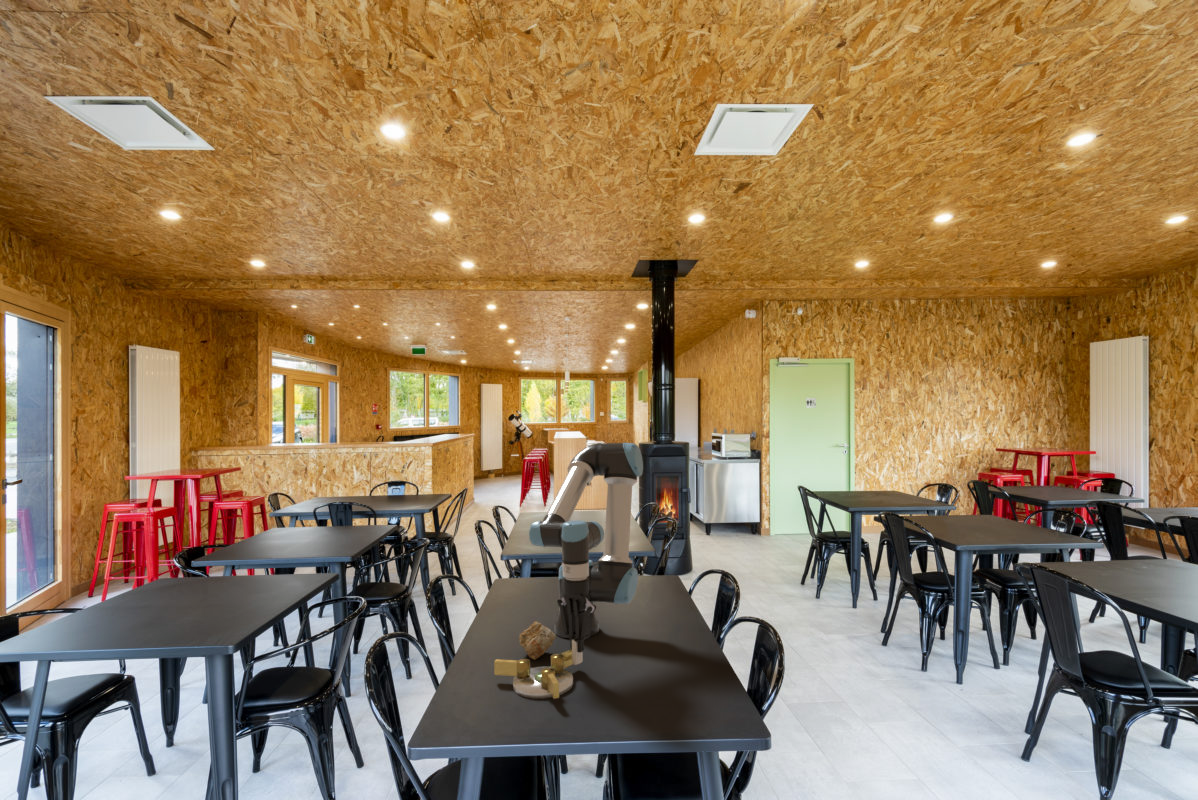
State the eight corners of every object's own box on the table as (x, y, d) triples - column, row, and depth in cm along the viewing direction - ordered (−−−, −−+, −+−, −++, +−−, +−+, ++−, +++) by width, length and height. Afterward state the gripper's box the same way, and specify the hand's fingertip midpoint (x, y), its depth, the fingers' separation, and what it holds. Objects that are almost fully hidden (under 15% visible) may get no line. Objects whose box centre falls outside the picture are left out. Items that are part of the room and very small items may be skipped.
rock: (559, 652, 177) (559, 619, 177) (546, 665, 167) (545, 630, 167) (524, 648, 180) (524, 615, 181) (509, 661, 171) (508, 626, 171)
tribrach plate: (500, 686, 153) (500, 674, 153) (543, 667, 165) (543, 656, 166) (542, 704, 143) (542, 691, 143) (585, 682, 155) (585, 670, 155)
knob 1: (531, 674, 157) (531, 659, 157) (527, 679, 153) (527, 664, 153) (497, 672, 158) (497, 657, 159) (492, 677, 155) (492, 662, 155)
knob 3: (557, 674, 156) (557, 659, 156) (548, 671, 158) (548, 656, 158) (581, 663, 163) (581, 649, 164) (572, 660, 166) (572, 646, 166)
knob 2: (539, 684, 150) (539, 668, 150) (553, 682, 151) (552, 666, 152) (549, 700, 141) (549, 684, 141) (563, 698, 142) (563, 681, 142)
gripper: (550, 576, 163) (551, 661, 162) (584, 583, 155) (586, 673, 154) (568, 571, 169) (569, 653, 168) (602, 577, 161) (603, 664, 159)
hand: (577, 662), depth 161 cm, fingers closed
